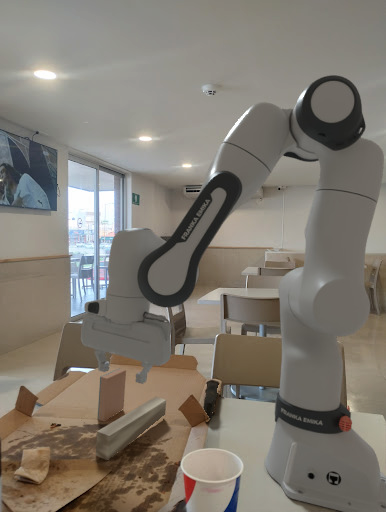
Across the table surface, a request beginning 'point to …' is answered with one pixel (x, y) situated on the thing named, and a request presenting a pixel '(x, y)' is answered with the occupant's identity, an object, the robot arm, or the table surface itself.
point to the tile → (111, 394)
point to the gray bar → (128, 427)
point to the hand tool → (210, 397)
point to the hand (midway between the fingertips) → (121, 376)
